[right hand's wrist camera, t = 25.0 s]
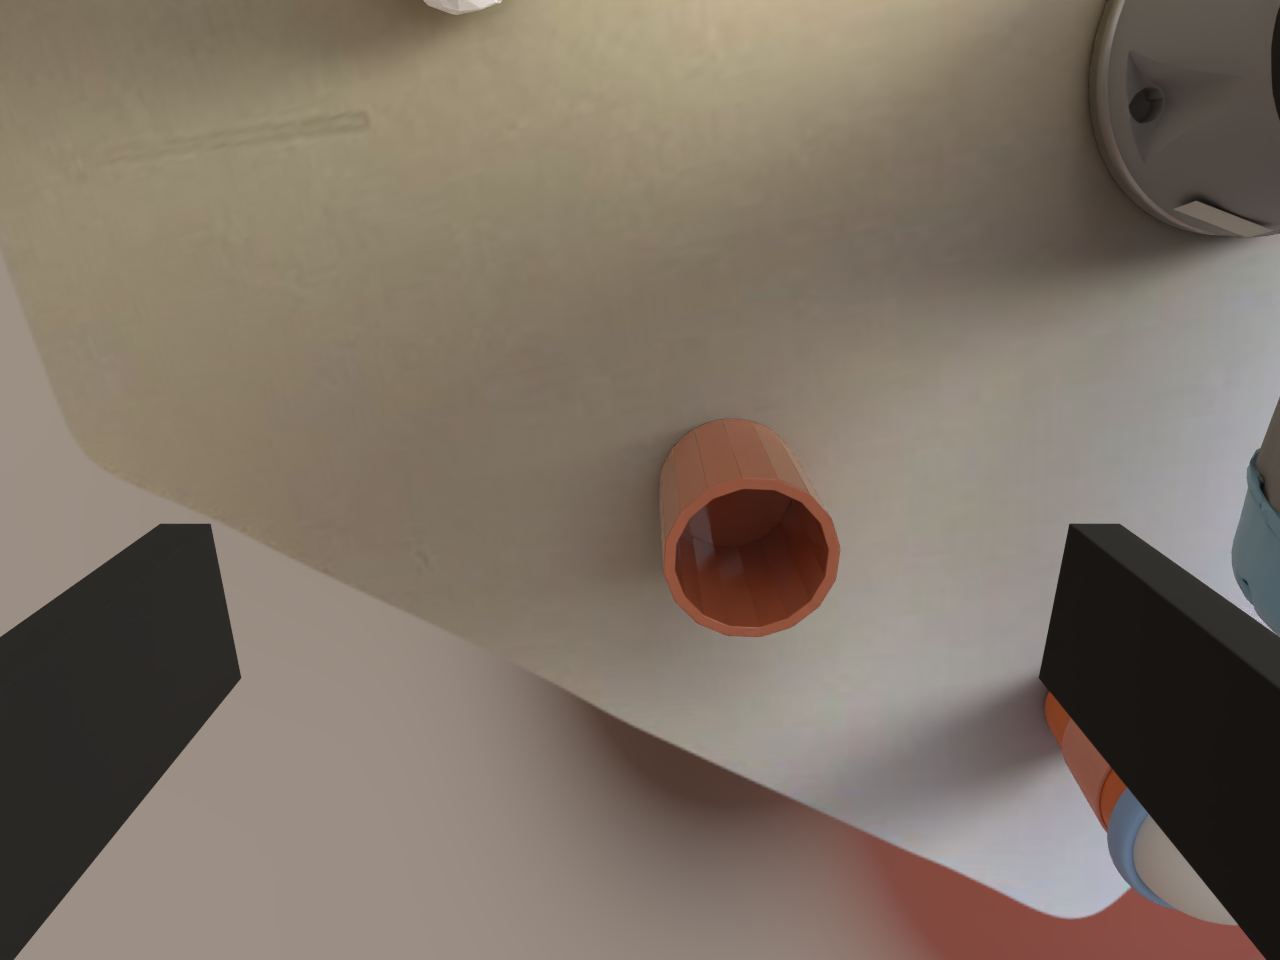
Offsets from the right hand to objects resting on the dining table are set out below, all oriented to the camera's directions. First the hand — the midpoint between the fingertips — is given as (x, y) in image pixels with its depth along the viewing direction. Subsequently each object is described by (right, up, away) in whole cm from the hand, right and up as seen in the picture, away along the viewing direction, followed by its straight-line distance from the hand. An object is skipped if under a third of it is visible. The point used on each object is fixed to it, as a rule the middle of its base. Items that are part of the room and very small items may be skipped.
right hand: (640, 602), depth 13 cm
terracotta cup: (+5, +2, +30) cm, 30 cm away
